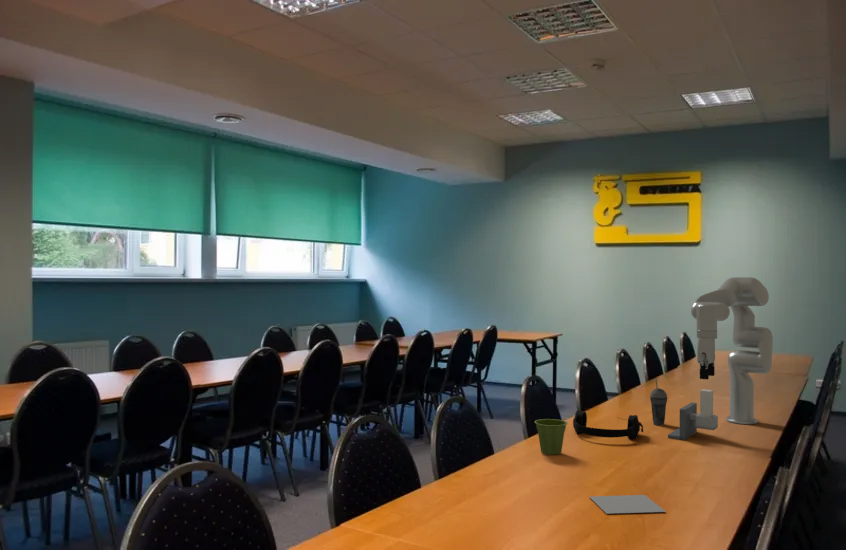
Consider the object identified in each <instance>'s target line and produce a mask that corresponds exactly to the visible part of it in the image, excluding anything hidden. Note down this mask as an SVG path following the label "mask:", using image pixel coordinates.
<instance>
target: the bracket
mask: <svg viewBox="0 0 846 550" xmlns="http://www.w3.org/2000/svg"><path fill="white" fill-rule="evenodd" d="M697 406H698V402H689V403H688V404H686V405H685V406H683V407H681V408H679V427H678V428H677V429H675V430H673V431H671V432H670V433H669V434H667V438H668V439H671V440H673V439H675V440H679V441H686V440H687V439H689V438H690V437H692V436H693V435H695V434H696V433H697V431H698V430H697V429H701V430H707V431H708V430H709V431H715V430H716V429H717V428H718V427H719V424H718V423H719V421H718V420H719V416H718V414H713V418H712V417H703V416H700V412H699V413H698V411H697V410H698V407H697Z"/></svg>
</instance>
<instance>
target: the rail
mask: <svg viewBox="0 0 846 550" xmlns="http://www.w3.org/2000/svg"><path fill="white" fill-rule="evenodd" d="M699 392H700V393H699V395H700V396H699V397H700V399H699V403H700V404H699V407H700V408H699V411H700V412H699V413H700V416H703V417H712V418H713V415H714V390H713V389H704V388H703V389H701V390H700V391H699Z"/></svg>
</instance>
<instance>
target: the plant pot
mask: <svg viewBox="0 0 846 550" xmlns="http://www.w3.org/2000/svg"><path fill="white" fill-rule="evenodd" d="M534 424H535V427H536V430H537V434H538V442H539V446H540V453H541V454H543V455H547V456H553V455H555V456H558V455H560V454H562V452H563V444H564V443H563V442H564V438H565V431H566V429H567V425H568V421H566V420H561V419H555V418H552V419H551V418H543V419H537V420H535V421H534Z"/></svg>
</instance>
